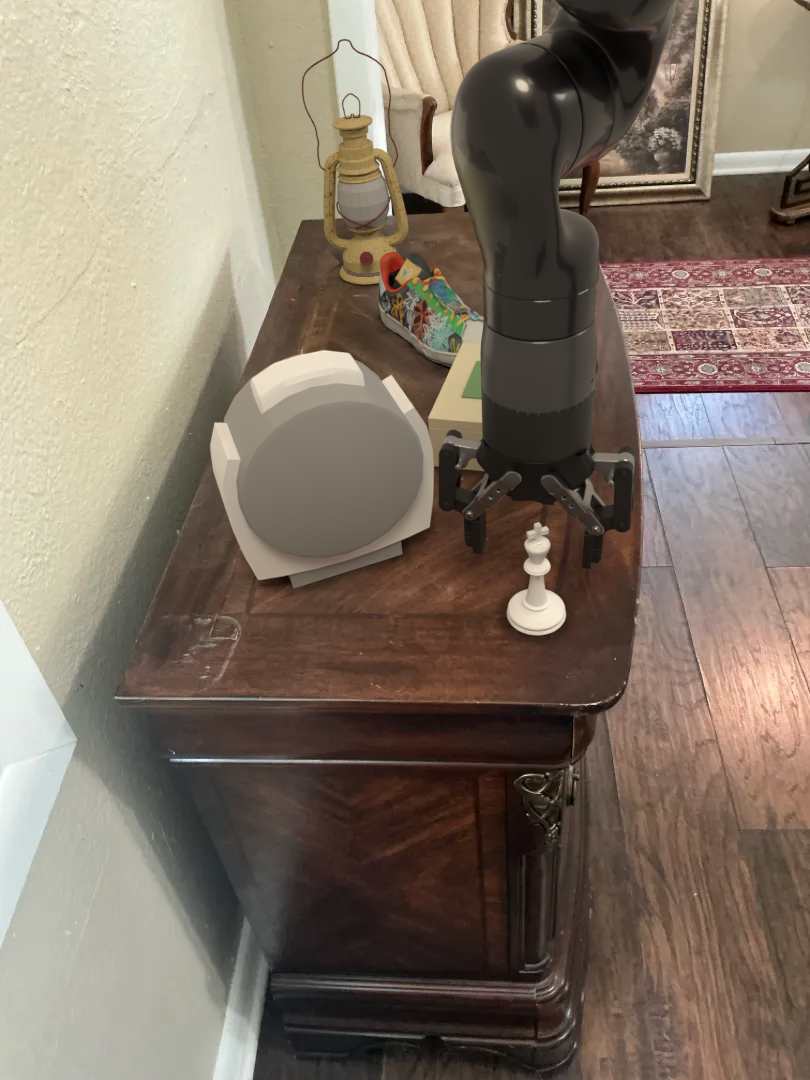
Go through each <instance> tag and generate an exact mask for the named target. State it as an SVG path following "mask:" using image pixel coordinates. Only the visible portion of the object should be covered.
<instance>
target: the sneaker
mask: <svg viewBox="0 0 810 1080" xmlns="http://www.w3.org/2000/svg"><path fill="white" fill-rule="evenodd" d="M445 277H446V276H443V275H442V272H441V270H440V269H439V268H438V267H437V266H434V267H433V269H432V271H431V269H430V267H429V265H428V262H427V261H426V260H425V258H424V257H423V256H422V255H421V254H419V253H418V252H413V253H412V254H411V255H410V256H409V257H407V258H406V259H405V260H404V259H403V257H402V256H401V254H400V253H399V252H397V251H396V252H390V253H386V254H384V255H383V256H382V257H381V259H380V280H379V283H378V285H379V286H378V308H379V313H380V318H381V321H382V323H383V324H384V326H385V327H386V328H387V329H389V330H390V331H391V332H393V333H395V334H397V335H399V336H401V337H402V338H403V339H404V340H405V341H407V342H408V343H410V344H411V345H412V347H413V348H415V350H416V351H417V352H418V353H419V354H421V355H422V356H423V357H424V358H425V359H428V360H429V361H432V362H434V363H438V364H440V365H443V366H446V367H449V368H451V367H452V365H453V363H454V360H455V358H456V356H457V354H458V352H459V349H460V347H461V345H462V343H478V344H481V338H482V331H483V318H484V316H483V315H481V314H479V313H478V312H476V311H475V310H473V309H471V308H470V307H468V306H467V305H466V304H465V303H464V302H463V300H462V298H461V297H459V295H458V294H457V293H456V292H455V290H453V289H452V287H451V285H450V284H448V282H447V280H446V278H445Z"/></svg>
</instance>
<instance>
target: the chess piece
mask: <svg viewBox="0 0 810 1080" xmlns="http://www.w3.org/2000/svg"><path fill="white" fill-rule="evenodd" d="M525 533H526V534H525V536H526V539H525V541H524V549H525V552H526V553H527V555H528V558H526V559H525V561H524V563H523V570H524V571H525V573H527V574H528V575H529V581H528V587H527V588H526V589H523V590H520V591H518V592H516V593H515V594H514V595H513V596H512V597H511V598H510V600H509V601H508V604H507V608H506V617H507V621H508V622H509V624H510V625H511V626H512V627H513V629H515V630H517V631H518V632H520V633H522V634H526V635H530V636H544V635H549V634H552V633H554V632H556V631H557V630H558V629H560V628H561V627H562V626H563V624H564V623H565V621H566V618H567V612H566V605H565V603H564V601H563V599H562V598H561V596H559V595H558V594H557V593H555V592H553V591H552V590H548V589H546V585H545V575H547V574H548V573H549V572H550V570H551V567H552V566H551V563H550V561H549V559H548V558H547V556H548V555H547V554H548V553H549V551H550V549H551V542H550V540H549V539H548V537H546V535H549V534H550V529H549V527H548V526H547V525H545V526H542V524H541V523H540V521H538V522H535V523H533V529H531V530H528V531H526V532H525Z"/></svg>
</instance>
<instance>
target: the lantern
mask: <svg viewBox="0 0 810 1080" xmlns="http://www.w3.org/2000/svg"><path fill="white" fill-rule="evenodd" d="M341 42H348V43H349V45H350V47H351V48H352V50H353V51H355V53H357V54H359V55H361V56H365V57H367V58H369V59H371V60H372V61H374V62H376V63H377V64H378V65H379V66H380V67H381V68H382V70H383V72H384V76H385V79H386V81H385V82H386V84H387V89H388V94H389V99H388V107H387V120H388V121H387V122H388V126H387V127H388V135H389V138H390V140H391V142H392V144H393V146H394V149H395V155H396V157H395V159H394V162H393V159H392V158H391V155H390V154H389V153H388V152H387V151H385V150H384V149H381V148H377V147H376V148H374V144H373V143H374V142H373V141H372V140H371V139H369V138H368V134H369V126H370V125H372V123H373V121H374V120H373V117H371V116H370V115H366V114H361V101H360V99H359V97H358V96H357V95H356V94H354V93H351V92H349V93H347V94H346V95H344V97H343V99H342V101H341V107H342V111H343V116H342V117H339V118H337V119H335V120H334V121H333V122H332V127H333V129H336V130H338V131H339V136H340V137H341V139H342V142H339V144H338V151H335V152H332V153H331V154H330V155H329V156H328V157H327V158H326V160H325V162H324V167H323V166H322V165H321V161H320V150H319V149H320V139H319V136H318V135H319V134H318V129H317V125H316V124H315V121H314V120H313V118H312V116H311V114H310V113H309V110H308V108H307V105H306V101H305V95H304V93H305V92H304V82H305V81H304V80H305V76H306V74H307V73H308V72H309V71H310V70H311V69H312V68H313V67H314V66H316V65H318V64H320V63H321V62H323V61H325V60H327V59H329V58H330V57H332V56H333V55H335V54H336V53H337V52H338V51H339V48H340V43H341ZM301 96H302V102H303V106H304V109H305V111H306V113H307V115H308V117H309V119H310V121H311V123H312V125H313V127H314V131H315V136H316V141H317V146H316V154H317V155H316V156H317V162H318V166H319V168H320V169H321V170H323V202H322V203H323V205H322V206H323V232H324V236H325V239H326V241H327V243H329V244H330V245H331V246H332V247H333V248H334V249H336V250H339V251H343V253H342V262H343V265H342V266H341V267H340V270H339V276H340V278H342V280H343V281H345V282H347V283H350V284H354V285H375V284H379V280H380V275H379V276H374V277H356V276H352V275H349V274H347V273H346V272H345V271H344V269H343V266H345V267H346V268H347V269H349V270H351V271H352V272H356V273H363V274H368V273H376V272H380V259H381V257H382V256H383V255H384V254H386V253H390V252H397V248H396V246H399V245H401V244H402V243H403V242H404V241H405V239H406V238H407V237H408V234H409V220H408V214H407V211H406V207H405V202H404V199H403V195H402V194H403V193H402V191H401V188H400V187H401V186H400V184H399V181H398V177H397V172H396V168H395V166H396V164H397V161H398V158H399V153H398V148H397V145H396V143H395V140H394V138H393V137H392V134H391V117H390V110H391V105H392V104H391V103H392V102H391V101H392V93H391V87H390V83H389V79H388V75H387V70H386V68H385V66H384V65H383V64H382V63H380V62H379V60H378V59H376V58H374V57H372V56H371V55H370V54H367V53H364V52H361V51H359V50H357V49H356V48H355V47H354V45H353V43H352V41H351V40H350V39H347V38H341V39H339V40H338V41H337V45H336V49H335V50H334V51H333V52H331V53H330V54H328V55H326V56H325V57H323V58H321V59H319V60H318V61H315V62H314V63H313V64H312V65H310V66H309V67H308V68H307V69H306V70H305V72H304V73H303V76H302V79H301ZM349 96H353V97H354V98H355V99H357V101H358V114H354V113H350V115H346V111H345V106H344V102H345V100H346V99H347V98H348V97H349ZM380 167H381V168H380ZM337 173H338V176H337ZM382 173H383V174H382ZM337 179H338V182H337ZM336 187H337V188H336ZM336 189H337V190H336ZM336 191H337V192H336ZM336 195H337V197H336ZM336 199H337V201H336ZM390 202H391V206H392V209H393V214H394V218H395V223H396V231H395V233H394V234H392V235H388V236H385V235H384V234H383V233H381V232H379V230H380V229H382V228H383V227H384V226H386V223H387V220H388V215H389V211H390ZM336 210H337V213H338V214H339V215H340V217H341V218H342V220H343V223H344V225H345V226H346V229H347V230H348V231H351V232H353V233H354V235H353V237H352V238H351V239H342V238H340V237H339V236H338V235H337V232H336Z"/></svg>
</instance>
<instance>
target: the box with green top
mask: <svg viewBox="0 0 810 1080" xmlns="http://www.w3.org/2000/svg"><path fill="white" fill-rule="evenodd" d="M480 351H481V344H478V343H462V345H461V347H460V349H459V352H458V354H457V356H456V358H455V360H454V363H453V365H452V367H450V369H449V371H448V374H447V376H446V377H445V379H444V382H443V384H442V387H441V389H440V390H439V393H438V395H437V397H436V399H435V402H434V404H433V406H432V409H431V410H430V412H429V415H428V417H427V421H428V433H429V437H430V440H431V444H432V448H433V464H434V467H437V468H439V452H440V449H441V447H442V444H443V442H444V439H445V437H446V435H447V432H448V431H450V430H457V431H459V432H460V433H461V434H462V439H468V440H474V441H481V439H482V438H483V437H482V398H481V358H480ZM462 470H467V471H477V472H485V471H484V470H483V469H482V467H481V466H480V465H479V464H478V462H477V459H476V458H473V459H471V460H469V462H468V465H467V466H466V467H465V468H462Z"/></svg>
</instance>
